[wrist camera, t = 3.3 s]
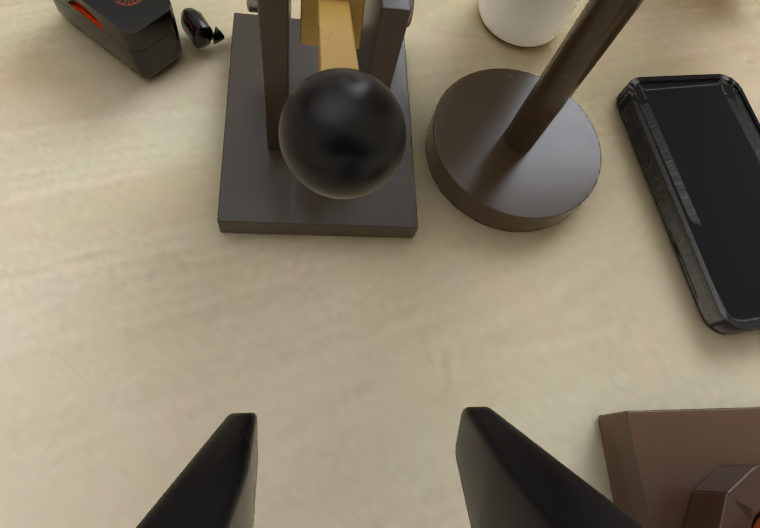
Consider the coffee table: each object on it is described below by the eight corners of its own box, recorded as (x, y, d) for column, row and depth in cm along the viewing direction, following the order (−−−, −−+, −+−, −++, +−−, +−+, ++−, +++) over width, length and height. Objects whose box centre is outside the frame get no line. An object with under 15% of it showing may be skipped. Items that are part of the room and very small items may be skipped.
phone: (734, 73, 31) (855, 310, 26) (719, 86, 32) (833, 316, 27) (620, 78, 29) (726, 332, 24) (609, 91, 31) (709, 338, 25)
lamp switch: (412, 238, 25) (481, 110, 16) (220, 232, 24) (177, 88, 15) (399, 45, 29) (448, -142, 20) (236, 30, 28) (210, -178, 19)
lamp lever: (402, 227, 13) (427, 117, 11) (276, 223, 13) (275, 107, 11) (366, 30, 21) (375, -57, 19) (287, 23, 21) (288, -68, 19)
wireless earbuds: (160, 96, 26) (143, 47, 23) (57, 15, 26) (26, -42, 23) (227, 45, 27) (219, -6, 24) (128, -29, 28) (108, -88, 25)
